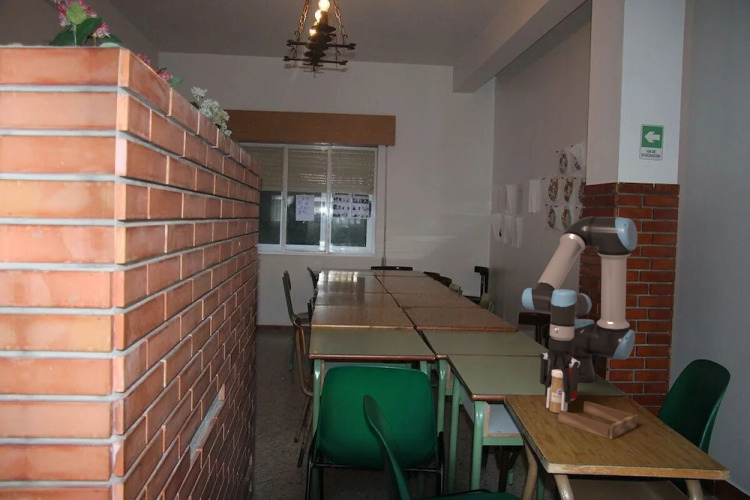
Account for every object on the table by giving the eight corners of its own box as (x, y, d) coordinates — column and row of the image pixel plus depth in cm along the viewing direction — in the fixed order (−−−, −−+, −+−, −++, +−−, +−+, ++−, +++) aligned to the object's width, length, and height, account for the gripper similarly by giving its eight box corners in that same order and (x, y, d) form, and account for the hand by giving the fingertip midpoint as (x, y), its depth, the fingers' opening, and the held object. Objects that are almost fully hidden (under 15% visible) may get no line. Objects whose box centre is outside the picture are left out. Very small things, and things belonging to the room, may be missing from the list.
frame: (585, 411, 188) (585, 400, 188) (636, 426, 176) (637, 415, 176) (558, 422, 177) (559, 410, 176) (611, 439, 165) (612, 427, 164)
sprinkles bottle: (554, 414, 184) (557, 372, 183) (546, 409, 188) (549, 368, 187) (566, 413, 185) (569, 371, 184) (558, 408, 189) (561, 368, 189)
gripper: (531, 334, 189) (526, 404, 190) (581, 344, 176) (576, 419, 178) (543, 331, 194) (538, 399, 195) (593, 341, 181) (587, 414, 183)
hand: (556, 409), depth 187 cm, fingers closed on sprinkles bottle, 4 cm apart
